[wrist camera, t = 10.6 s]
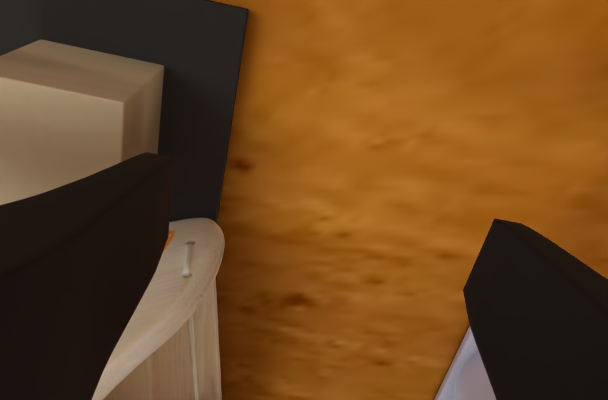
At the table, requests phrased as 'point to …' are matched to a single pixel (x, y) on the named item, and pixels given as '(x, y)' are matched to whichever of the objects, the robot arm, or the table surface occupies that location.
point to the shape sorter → (173, 324)
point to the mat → (177, 73)
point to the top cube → (72, 115)
